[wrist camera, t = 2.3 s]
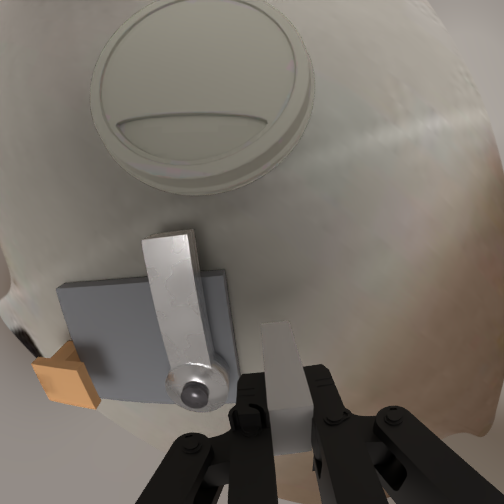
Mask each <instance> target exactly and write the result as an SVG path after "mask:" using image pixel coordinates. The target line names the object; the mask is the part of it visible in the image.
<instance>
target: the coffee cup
mask: <svg viewBox="0 0 504 504" xmlns="http://www.w3.org/2000/svg"><path fill="white" fill-rule="evenodd" d="M314 94H315V78H314V71H313V66H312V63H311V59H310V57H309V54H308V52H307V50H306V48H305V46H304V43H303V41H302V39H301V37H300V35H299V33H298V32H297V30H296V28H295V27H294V26H293V25H292V23H291V22H290V21H289V20H288V19H287V18H286V17H285V16H284V15H283V14H282V13H281V12H280V11H278V10H277V9H276V8H274V7H273V6H272V5H270V4H268V3H266V2H265V1H263V0H158V1H156V2H154V3H152V4H150V5H148V6H147V7H145V8H143V9H142V10H140V11H139V12H137V13H136V14H134V15H133V16H132V17H131V18H130V19H128V20H127V21H126V22H125V23H124V24H123V25H122V26H121V27H120V28H119V29H118V30H117V31H116V32H115V33H114V35H113V36H112V37H111V38H110V40H109V41H108V43H107V44H106V46H105V47H104V49H103V51H102V52H101V54H100V56H99V59H98V61H97V63H96V65H95V69H94V72H93V76H92V80H91V86H90V108H91V114H92V118H93V122H94V125H95V127H96V130H97V132H98V134H99V136H100V137H101V139H102V141H103V143H104V145H105V147H106V149H107V150H108V152H109V153H110V155H111V156H112V157H113V159H114V160H115V161H116V162H117V163H118V164H119V165H120V166H121V167H122V168H123V169H124V170H125V171H127V172H128V173H129V174H130V175H132V176H133V177H135V178H137V179H138V180H140V181H142V182H143V183H145V184H147V185H149V186H151V187H153V188H156V189H159V190H161V191H165V192H168V193H173V194H179V195H188V196H204V195H213V194H219V193H224V192H228V191H231V190H235V189H237V188H240V187H243V186H245V185H247V184H250V183H252V182H254V181H256V180H257V179H259V178H261V177H262V176H264V175H266V174H267V173H268V172H270V171H271V170H273V169H274V168H275V167H276V166H277V165H279V164H280V163H281V162H282V161H283V160H284V159H285V158H286V157H287V156H288V155H289V154H290V152H291V151H292V150H293V149H294V147H295V146H296V145H297V143H298V142H299V140H300V139H301V137H302V135H303V133H304V131H305V129H306V127H307V125H308V122H309V119H310V116H311V112H312V108H313V102H314Z"/></svg>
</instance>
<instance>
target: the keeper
mask: <svg viewBox="0 0 504 504" xmlns="http://www.w3.org/2000/svg"><path fill="white" fill-rule="evenodd" d="M31 365H32V366H33V369H34V371H35V373H36V375H37V377H38V379H39V381H40V383H41V385H42V387H43V389H44V390H45V392H46V394H47V396H48V398H49V400H51V401H55V402H60V403H64V404H69V405H74V406H79V407H84V408H90V409H97V407H98V405H99V404H100V402H101V399H100V397H99V395H98V393H97V391H96V389H95V387H94V385H93V383H92V380H91V378H90V376H89V374H88V371H87V369H86V367H85V364H84V362H81V361H80V359H79V356H78V354H77V351H76V349H75V346H74V343H73V341H67V342H66V343H65V344H64V345H63V346H62V347H61V348H60V349H59V350H58V351H57V352H56V353H55V354H54V355H53V356H52V357H51V358H43V357H38V358H36V359H35V361H33V362H32V364H31Z"/></svg>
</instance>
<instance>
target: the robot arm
mask: <svg viewBox="0 0 504 504" xmlns="http://www.w3.org/2000/svg"><path fill="white" fill-rule="evenodd" d="M261 334H262V346H263V358H264V370H265V372H261V373H250V374H242V375H241V377H240V378H239V380H238V381H237V395H236V396H237V397H236V405H235V406H234V407H233V408H232V409H231V410H230V411H229V414H228V417H229V421H230V426H231V429H230V430H229V431H228V432H226V433H224V434H222V435H219V436H216V437H212V438H207V437H206V436H205V435H203V434H200V433H187V434H183V435H182V436H180V437H178V438H177V439H176V440H175V441H174V443H173V444H172V446H171V447H170V449H169V451H168V452H167V454H166V456H165V457H164V459H163V460H162V462H161V464H160V465H159V467H158V468H157V470H156V472H155V473H154V475H153V476H152V478H151V479H150V481H149V483H148V484H147V486H146V487H145V489H144V490H143V492H142V494H141V495H140V497H139V498H138V500H137V502H136V503H135V504H217V501H218V499H219V496H220V494H221V491H222V489H223V487H224V485H225V484H229V490H228V504H278V496H277V485H276V474H275V464H274V456H276V455H285V454H293V453H301V452H307V451H312V448H313V453H314V458H313V471H315V472H316V477H317V481H318V486H319V491H320V496H321V501H322V504H389V503H388V501H387V498H386V495H385V493H384V490H383V488H384V489H385V490H386V492H387V493H388V494H389V495H390V497H391V498H392V499H393V500H394V502H395V503H396V504H504V495H503V494H502V493H501V492H500V491H499V490H497V489H496V488H495V487H494V486H493V485H492V484H490V483H489V482H488V481H487V480H486V479H485V478H484V477H482V476H481V475H480V474H479V473H478V472H477V471H475V470H474V469H473V468H472V467H471V466H470V465H469V464H468V463H466V462H465V461H464V460H463V459H462V458H461V457H460V456H459V455H457V454H456V453H455V452H454V451H453V450H452V449H450V448H449V447H448V446H447V445H446V444H445V443H444V442H443V441H442V440H440V439H439V438H438V437H437V436H436V435H435V434H434V433H433V432H431V431H430V430H429V429H428V428H427V427H426V426H425V425H424V424H423V423H421V422H420V421H419V420H418V419H417V418H416V417H415V416H414V415H412V414H411V413H410V412H409V411H408V410H406V409H405V408H403V407H400V406H388V407H385V408H383V409H381V410H380V411H379V412H378V413H377V415H376V416H358V415H354V414H352V413H351V412H350V410H348V409H346V408H345V407H344V405H343V403H342V400H341V398H340V395H339V393H338V390H337V388H336V386H335V384H334V381H333V379H332V376H331V374H330V371H329V369H327V368H326V367H325V366H324V365H322V364H319V365H312V366H305V367H303V366H302V363H301V359H300V356H299V352H298V349H297V345H296V342H295V339H294V335H293V332H292V328H291V325H290V322H289V321H281V322H272V323H262V324H261ZM382 487H383V488H382Z"/></svg>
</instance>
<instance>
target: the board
mask: <svg viewBox="0 0 504 504" xmlns="http://www.w3.org/2000/svg"><path fill="white" fill-rule="evenodd" d="M200 273H201V279H202V285H203V292H204V297H205V303H206V309H207V315H208V320H209V326H210V331H211V336H212V341H213V347H214V352H215V353H216V354H217V355H219V356H220V357H221V358H222V359H223V360H224V361H225V362H226V363H227V365H228V367H229V370H230V379H229V391H228V398H227V400H226V402H225V403H236V397H237V396H236V395H237V381H238V380H239V378H240V377H241V375H240V369H239V363H238V357H237V350H236V344H235V337H234V331H233V324H232V317H231V310H230V304H229V296H228V289H227V282H226V275H225V269H223V270H212V271H202V272H200ZM56 292H57V295H58V299H59V302H60V305H61V309H62V312H63V315H64V318H65V321H66V324H67V327H68V330H69V333H70V335H71V338H72V341H73V343H74V346H75V349H76V351H77V354H78V356H79V359H80V361H81V362H84V364H85V367H86V369H87V371H88V374H89V376H90V378H91V380H92V383H93V385H94V387H95V389H96V391H97V393H98V395H99V397H100V398H103V399H111V400H121V401H131V402H144V403H162V404H176V403H175V402H174V401H173V400H172V399H171V398H170V397H169V395H168V394H167V392H166V388H165V381H166V378H167V375H168V373H169V370H170V368H171V366H170V363H169V360H168V356H167V353H166V349H165V346H164V342H163V338H162V334H161V331H160V327H159V323H158V319H157V315H156V310H155V306H154V302H153V298H152V293H151V288H150V284H149V279H148V276H147V277H136V278H124V279H112V280H100V281H87V282H74V283H64V284H62V285H61V286H59V287H58V288H56ZM225 403H224V404H225Z"/></svg>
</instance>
